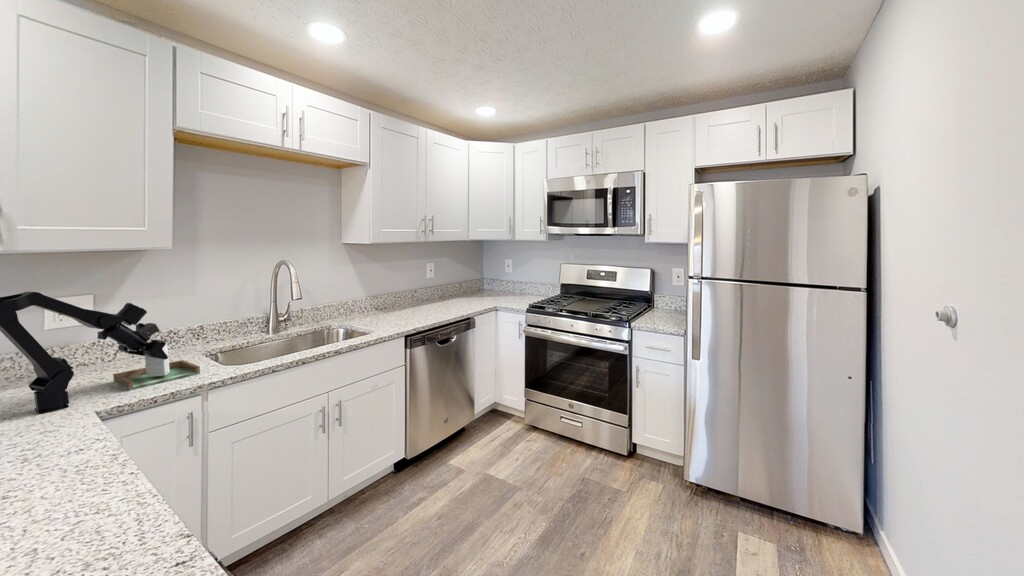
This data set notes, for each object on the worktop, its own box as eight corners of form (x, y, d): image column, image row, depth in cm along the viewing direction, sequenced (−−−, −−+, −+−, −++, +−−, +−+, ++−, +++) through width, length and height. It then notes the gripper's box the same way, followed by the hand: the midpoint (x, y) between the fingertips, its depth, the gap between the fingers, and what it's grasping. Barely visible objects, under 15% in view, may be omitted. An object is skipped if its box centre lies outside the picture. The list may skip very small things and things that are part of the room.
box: (129, 390, 149) (128, 382, 149) (113, 381, 158) (113, 374, 157) (200, 373, 168) (199, 366, 167) (183, 366, 176) (182, 359, 176)
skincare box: (170, 372, 165) (167, 343, 164) (165, 375, 161) (162, 345, 160) (151, 373, 163) (149, 344, 162) (146, 377, 159) (143, 346, 158)
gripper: (158, 319, 153) (191, 342, 164) (125, 315, 159) (160, 337, 170) (134, 345, 146) (171, 366, 158) (101, 340, 152) (139, 361, 164)
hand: (160, 357), depth 162 cm, fingers closed on skincare box, 7 cm apart
